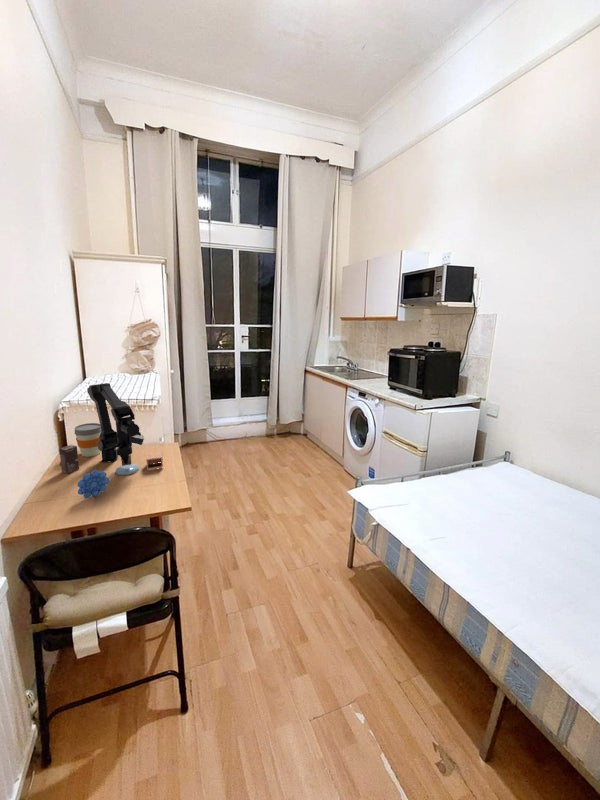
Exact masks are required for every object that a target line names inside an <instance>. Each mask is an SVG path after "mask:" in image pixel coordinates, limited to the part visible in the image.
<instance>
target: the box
mask: <svg viewBox="0 0 600 800" xmlns="http://www.w3.org/2000/svg"><path fill="white" fill-rule="evenodd" d="M58 450H59V456H60V465H61V472H62V473H63V474H64V473H65V474H70V473H72V472H73V473H74V471H77V470H79V469H80V464H79V463H80V462H79V454H78V445H74V444H69V445H66V446H62V447H60V448H59V449H58Z"/></svg>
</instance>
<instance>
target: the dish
mask: <svg viewBox="0 0 600 800" xmlns="http://www.w3.org/2000/svg"><path fill="white" fill-rule="evenodd" d="M139 467H140V466H139V465H138V464H136V463H131V465H125V466H122V465H119V466H118V467H117V468H116V469H115V474H116V475H118V476H130V475H133V474H136V473H137V472H138V471H139V469H140V468H139Z"/></svg>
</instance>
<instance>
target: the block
mask: <svg viewBox="0 0 600 800" xmlns="http://www.w3.org/2000/svg"><path fill="white" fill-rule="evenodd" d="M120 459H121V461H120V462H121V466H125V465H131V464H132V454H129V457H128V463H127V464H125V463H124V461H123V460H122V458H121V457H120Z"/></svg>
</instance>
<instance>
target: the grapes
mask: <svg viewBox="0 0 600 800" xmlns="http://www.w3.org/2000/svg"><path fill="white" fill-rule="evenodd" d="M109 483H110V478H109V477H107V472H106V471H101V472H100V470H98V469H94V470H92V471H91V473H90V472H86V473H85V474H84V475H83V476H82V479H80V480H79V481H78V482H77V487H78V489H77V494H78V495H80V496H81V495H83V496H82V497H83V498H84V499H89V498H90V497H92V498H97V497H99V496H100V493H104V492H105V491H107V488H108V487H107V485H108V484H109Z"/></svg>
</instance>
